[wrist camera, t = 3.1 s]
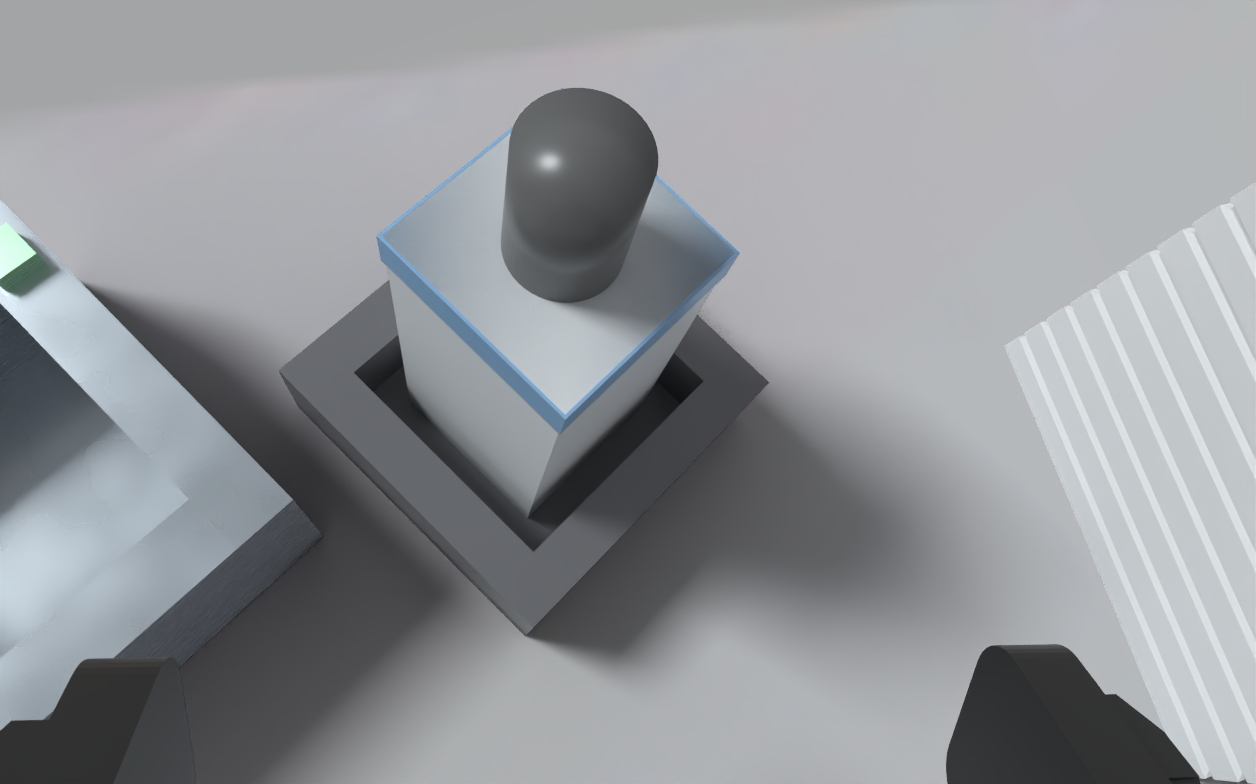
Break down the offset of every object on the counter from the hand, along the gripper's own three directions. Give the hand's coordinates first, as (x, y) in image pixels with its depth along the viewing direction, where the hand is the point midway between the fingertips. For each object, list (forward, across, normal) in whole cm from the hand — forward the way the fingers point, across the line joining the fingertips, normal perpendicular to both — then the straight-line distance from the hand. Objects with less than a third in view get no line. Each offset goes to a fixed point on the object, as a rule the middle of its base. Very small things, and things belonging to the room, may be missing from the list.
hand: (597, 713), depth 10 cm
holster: (+12, 0, +3) cm, 13 cm away
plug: (+12, 0, +3) cm, 12 cm away
